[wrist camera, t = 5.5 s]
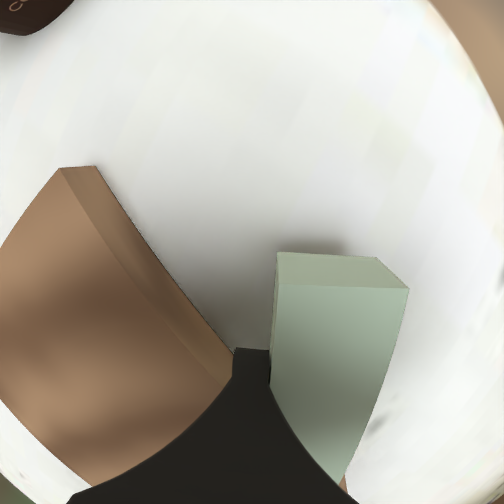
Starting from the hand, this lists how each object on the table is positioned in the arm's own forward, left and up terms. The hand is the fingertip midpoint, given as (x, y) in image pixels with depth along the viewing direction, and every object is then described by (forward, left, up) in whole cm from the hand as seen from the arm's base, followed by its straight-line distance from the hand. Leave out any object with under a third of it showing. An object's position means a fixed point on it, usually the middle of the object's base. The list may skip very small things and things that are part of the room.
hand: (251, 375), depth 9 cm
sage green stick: (-5, +1, -1) cm, 5 cm away
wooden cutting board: (-2, +10, -4) cm, 11 cm away
